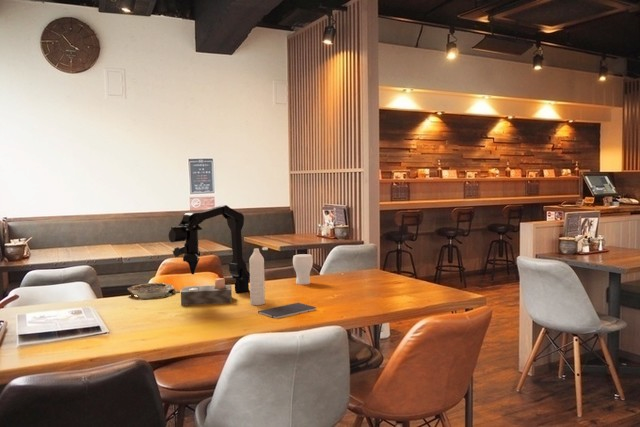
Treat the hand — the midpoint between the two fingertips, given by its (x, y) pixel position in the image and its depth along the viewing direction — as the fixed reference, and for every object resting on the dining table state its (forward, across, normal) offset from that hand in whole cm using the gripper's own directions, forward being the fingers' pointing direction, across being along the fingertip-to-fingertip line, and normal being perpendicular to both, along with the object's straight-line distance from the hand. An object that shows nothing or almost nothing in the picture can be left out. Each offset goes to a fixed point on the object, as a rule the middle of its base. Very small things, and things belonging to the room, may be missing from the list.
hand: (192, 274), depth 243 cm
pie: (+14, -23, -23) cm, 35 cm away
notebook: (+14, +27, +41) cm, 51 cm away
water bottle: (+13, +10, +30) cm, 34 cm away
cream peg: (+13, 0, 0) cm, 13 cm away
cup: (+13, -32, +54) cm, 64 cm away
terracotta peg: (+9, 0, +12) cm, 15 cm away
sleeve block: (+13, 0, +6) cm, 14 cm away
